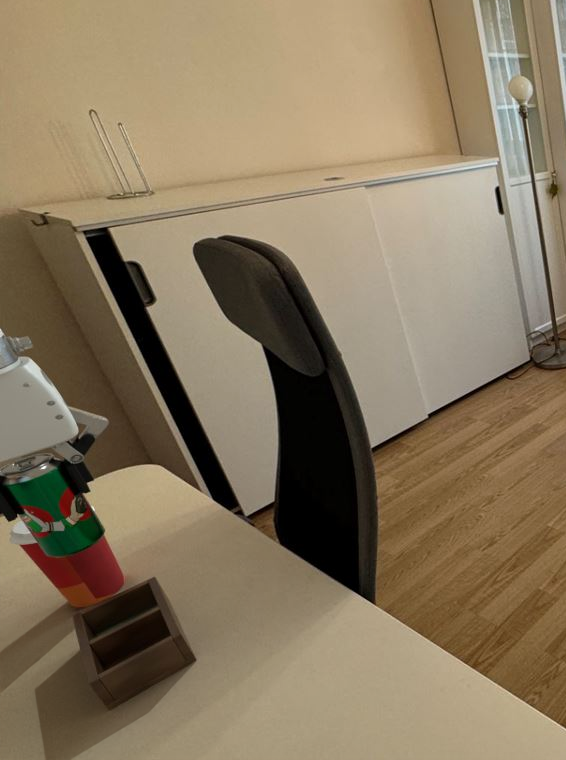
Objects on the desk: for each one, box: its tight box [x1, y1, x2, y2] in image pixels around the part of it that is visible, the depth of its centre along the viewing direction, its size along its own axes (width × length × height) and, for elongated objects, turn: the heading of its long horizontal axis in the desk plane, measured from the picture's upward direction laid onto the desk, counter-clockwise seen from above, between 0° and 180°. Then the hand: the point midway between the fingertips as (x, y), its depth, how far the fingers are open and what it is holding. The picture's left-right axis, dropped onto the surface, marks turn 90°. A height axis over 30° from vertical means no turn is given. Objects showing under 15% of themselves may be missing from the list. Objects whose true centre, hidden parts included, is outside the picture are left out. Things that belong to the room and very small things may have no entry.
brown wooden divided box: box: [71, 576, 197, 711], centre depth 71 cm, size 8×15×5 cm, turn 52°
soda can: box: [0, 452, 106, 557], centre depth 65 cm, size 5×5×12 cm
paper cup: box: [9, 505, 126, 608], centre depth 78 cm, size 8×8×14 cm
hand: (49, 500), depth 65 cm, fingers closed on soda can, 5 cm apart
